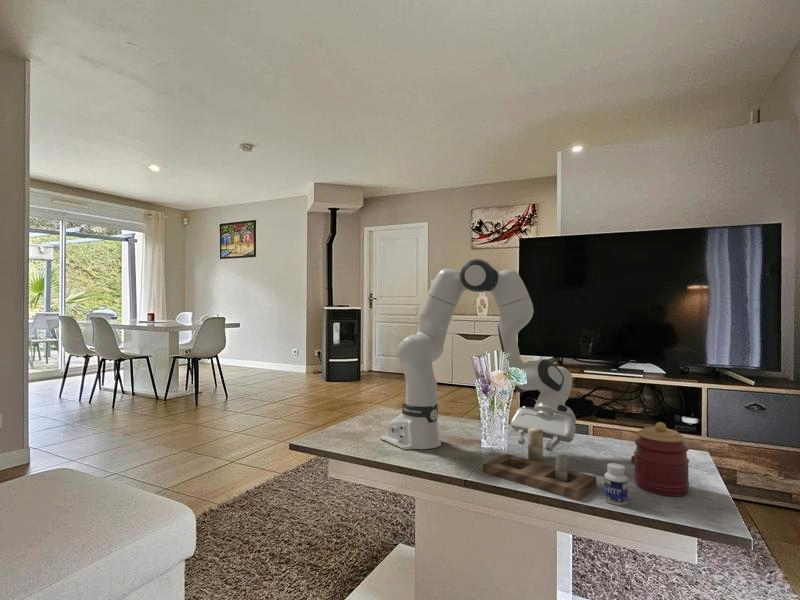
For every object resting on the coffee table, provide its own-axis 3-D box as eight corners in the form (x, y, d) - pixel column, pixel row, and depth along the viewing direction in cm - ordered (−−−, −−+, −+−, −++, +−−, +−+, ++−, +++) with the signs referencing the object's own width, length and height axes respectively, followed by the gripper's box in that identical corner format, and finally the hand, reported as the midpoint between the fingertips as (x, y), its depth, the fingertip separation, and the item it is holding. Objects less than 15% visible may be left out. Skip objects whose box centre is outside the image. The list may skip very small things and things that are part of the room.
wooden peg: (525, 461, 141) (525, 430, 142) (532, 458, 145) (532, 427, 145) (538, 465, 138) (538, 432, 139) (545, 461, 142) (545, 430, 142)
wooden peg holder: (482, 472, 132) (482, 444, 132) (505, 461, 142) (505, 436, 142) (577, 500, 113) (577, 468, 113) (596, 486, 122) (596, 456, 123)
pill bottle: (600, 500, 113) (600, 465, 113) (608, 495, 117) (608, 460, 117) (623, 507, 109) (623, 470, 109) (630, 501, 113) (630, 465, 113)
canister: (695, 488, 121) (695, 423, 122) (680, 502, 113) (680, 431, 113) (644, 475, 131) (644, 414, 131) (626, 486, 122) (626, 421, 123)
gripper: (516, 400, 154) (501, 434, 147) (576, 409, 140) (562, 447, 133) (522, 411, 157) (508, 445, 150) (581, 421, 143) (568, 459, 136)
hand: (534, 446), depth 141 cm, fingers open, 8 cm apart
